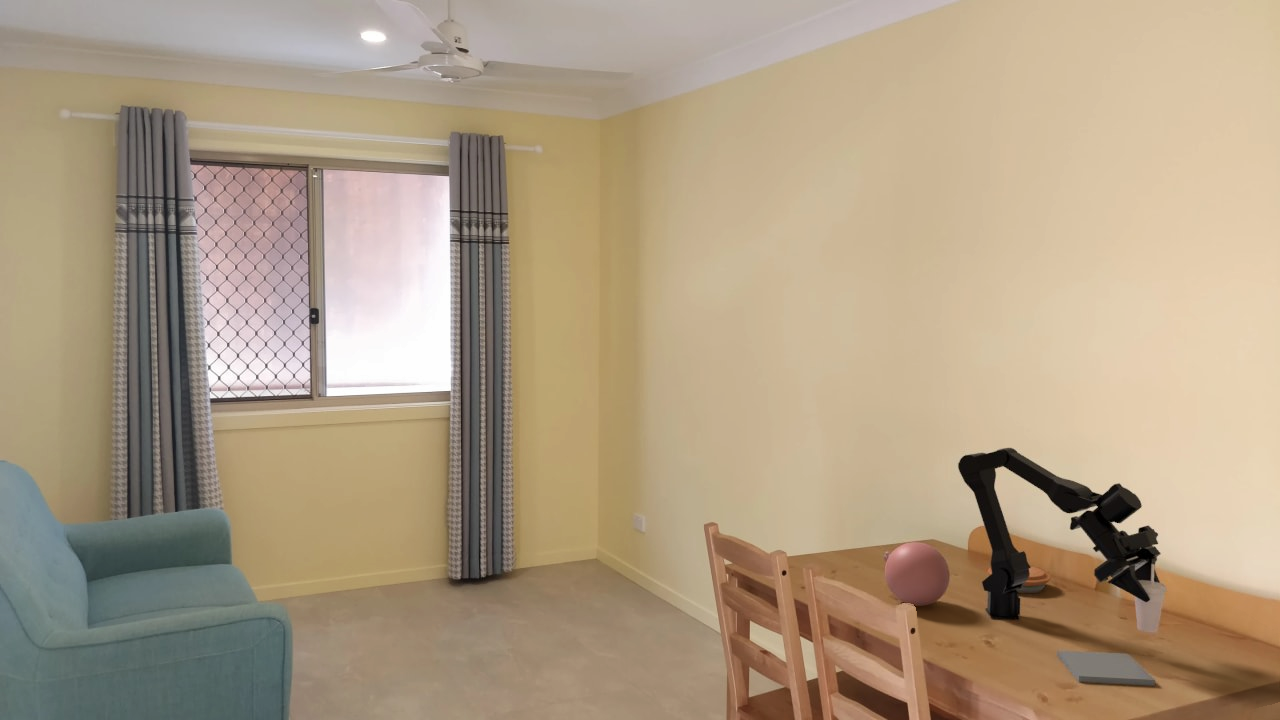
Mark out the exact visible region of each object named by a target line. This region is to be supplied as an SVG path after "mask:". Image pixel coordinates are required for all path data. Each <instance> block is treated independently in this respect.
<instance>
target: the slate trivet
mask: <svg viewBox="0 0 1280 720" xmlns="http://www.w3.org/2000/svg"><path fill="white" fill-rule="evenodd" d="M1056 656H1057V657H1058V659H1059V660H1060V661H1061V662H1062V664H1063V665H1064V666H1065V668H1066V669H1067V670H1069V672H1070V673H1071V675H1072V676H1073V677H1074V678H1075V679H1076V681H1077V682H1078V683H1089V684H1090V683H1092V684H1109V685H1110V684H1112V685H1129V686H1131V685H1132V686H1146V687H1147V686H1150V687H1151V686H1152V687H1155V686H1156V679H1155V678H1154V677H1152V675H1151V674H1149V672H1147V671H1146V669H1144V667H1142V666H1141V665H1140V663H1138V662H1137V661H1136V660H1135V658H1133V657H1132V656H1131V655H1130V654H1129V653H1122V652H1121V653H1119V652H1118V653H1117V652H1116V653H1115V652H1099V651H1097V652H1096V651H1095V652H1093V651H1077V650H1059V649H1058V650H1057V651H1056Z"/></svg>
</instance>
